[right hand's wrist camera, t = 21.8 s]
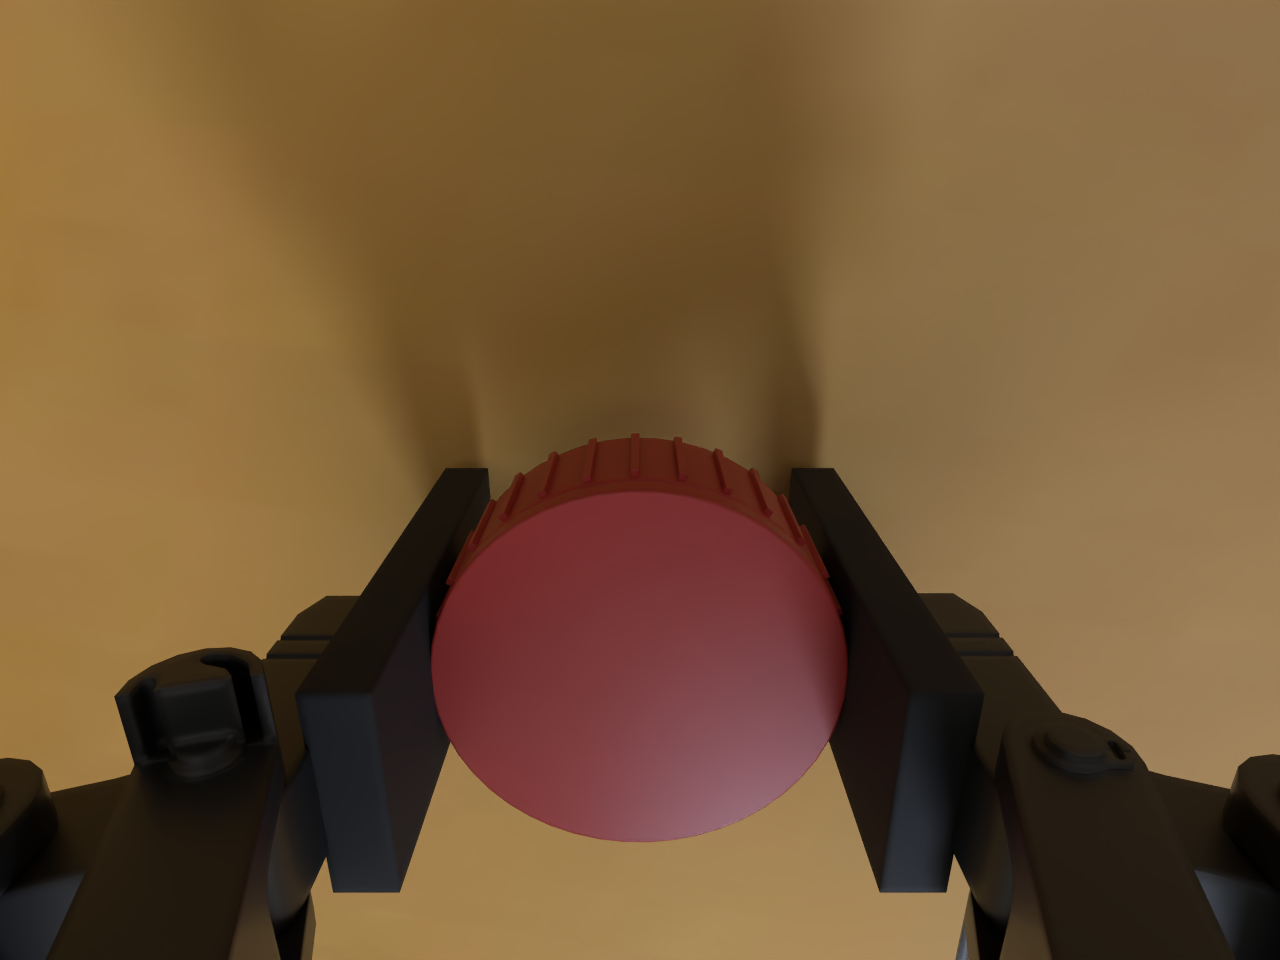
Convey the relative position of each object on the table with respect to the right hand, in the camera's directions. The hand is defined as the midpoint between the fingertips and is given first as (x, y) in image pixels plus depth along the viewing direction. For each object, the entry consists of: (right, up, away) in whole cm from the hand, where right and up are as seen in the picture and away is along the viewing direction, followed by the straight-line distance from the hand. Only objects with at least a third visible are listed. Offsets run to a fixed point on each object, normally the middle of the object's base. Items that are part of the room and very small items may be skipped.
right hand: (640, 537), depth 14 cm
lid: (0, -1, -4) cm, 4 cm away
